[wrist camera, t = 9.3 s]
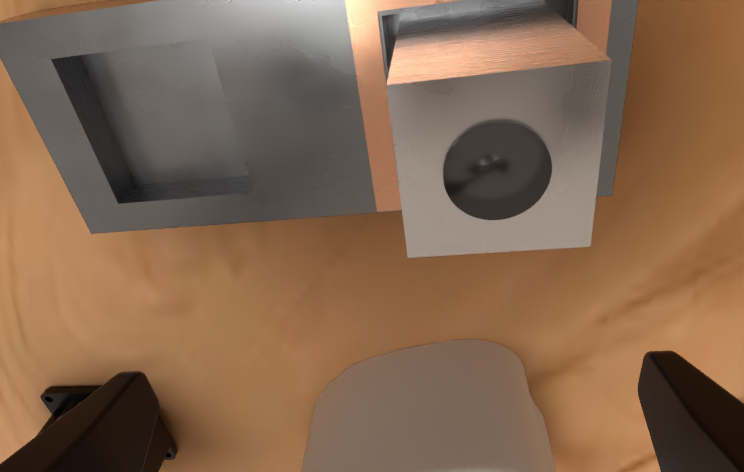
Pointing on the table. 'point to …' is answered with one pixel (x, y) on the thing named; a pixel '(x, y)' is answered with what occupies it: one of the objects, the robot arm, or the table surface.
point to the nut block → (496, 130)
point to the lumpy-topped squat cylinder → (430, 414)
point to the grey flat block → (242, 103)
